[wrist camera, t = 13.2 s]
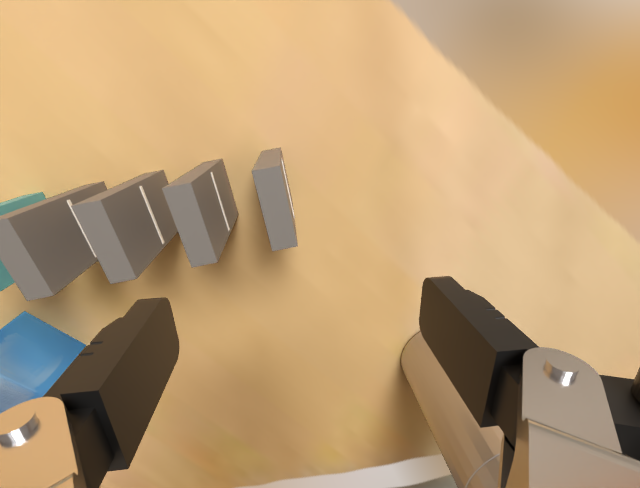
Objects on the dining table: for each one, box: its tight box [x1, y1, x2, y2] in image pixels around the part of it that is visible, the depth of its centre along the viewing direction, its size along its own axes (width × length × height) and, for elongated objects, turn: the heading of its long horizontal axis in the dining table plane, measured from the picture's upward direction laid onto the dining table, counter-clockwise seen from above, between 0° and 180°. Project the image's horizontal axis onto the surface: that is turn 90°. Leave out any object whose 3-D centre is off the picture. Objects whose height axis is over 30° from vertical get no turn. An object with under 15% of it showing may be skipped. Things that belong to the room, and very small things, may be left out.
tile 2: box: [162, 159, 238, 267], centre depth 23 cm, size 5×2×10 cm, turn 9°
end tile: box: [0, 192, 46, 291], centre depth 22 cm, size 5×2×10 cm, turn 9°
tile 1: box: [252, 148, 298, 251], centre depth 23 cm, size 5×2×10 cm, turn 9°
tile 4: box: [0, 181, 107, 301], centre depth 23 cm, size 5×2×10 cm, turn 9°
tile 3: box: [71, 170, 178, 284], centre depth 23 cm, size 5×2×10 cm, turn 9°
